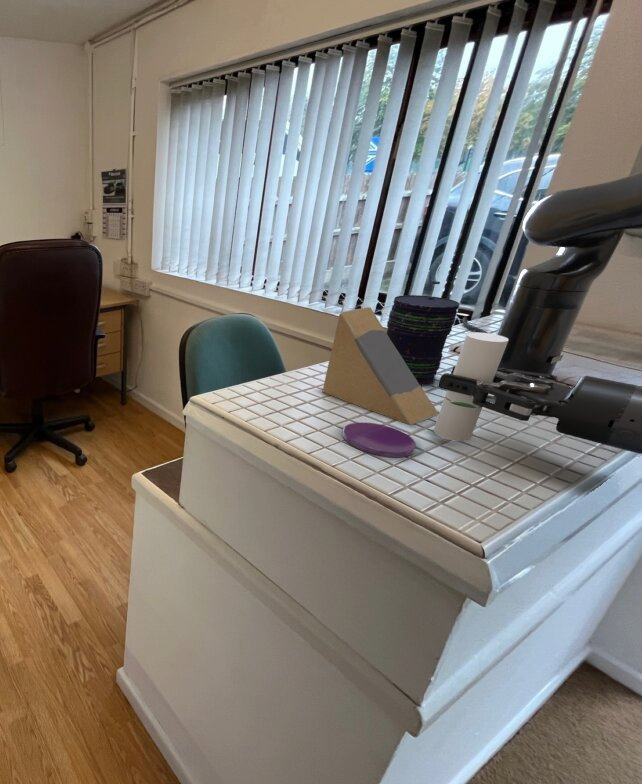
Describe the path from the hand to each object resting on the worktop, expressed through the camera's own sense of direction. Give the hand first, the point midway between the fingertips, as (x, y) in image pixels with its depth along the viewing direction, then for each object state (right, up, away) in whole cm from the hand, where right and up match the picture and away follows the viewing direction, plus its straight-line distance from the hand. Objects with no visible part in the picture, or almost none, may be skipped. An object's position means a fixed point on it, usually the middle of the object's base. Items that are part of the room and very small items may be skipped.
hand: (447, 375), depth 66 cm
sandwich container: (-1, -4, +14) cm, 14 cm away
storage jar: (+12, +1, +24) cm, 27 cm away
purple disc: (-9, -10, +2) cm, 13 cm away
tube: (+2, -9, +2) cm, 9 cm away
